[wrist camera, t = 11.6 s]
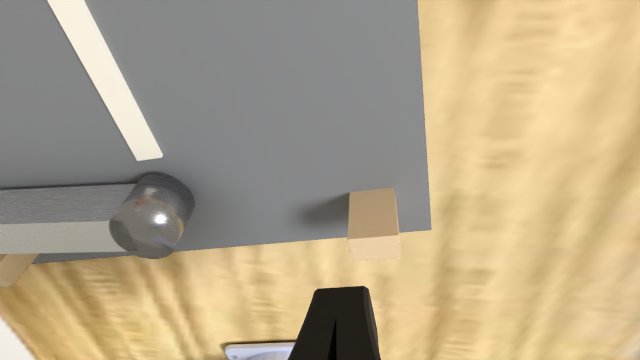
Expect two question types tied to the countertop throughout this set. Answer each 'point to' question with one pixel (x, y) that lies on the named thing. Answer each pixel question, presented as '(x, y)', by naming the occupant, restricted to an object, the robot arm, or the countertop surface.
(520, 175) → the countertop surface
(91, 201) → the lock bar
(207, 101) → the plate
